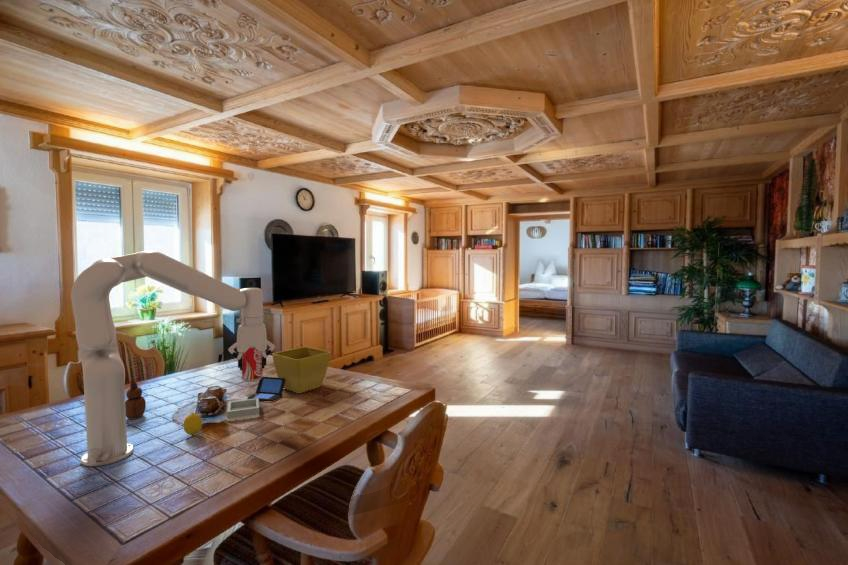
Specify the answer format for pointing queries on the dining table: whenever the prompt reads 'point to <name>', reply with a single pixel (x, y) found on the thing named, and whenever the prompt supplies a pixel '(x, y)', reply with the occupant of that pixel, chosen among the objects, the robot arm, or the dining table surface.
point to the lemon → (192, 424)
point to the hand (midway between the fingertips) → (252, 368)
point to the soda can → (252, 365)
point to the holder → (243, 409)
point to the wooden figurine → (134, 402)
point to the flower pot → (301, 368)
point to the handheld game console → (269, 389)
